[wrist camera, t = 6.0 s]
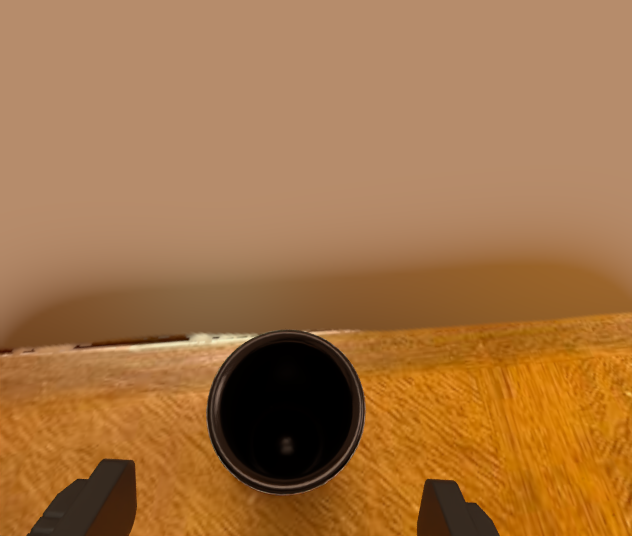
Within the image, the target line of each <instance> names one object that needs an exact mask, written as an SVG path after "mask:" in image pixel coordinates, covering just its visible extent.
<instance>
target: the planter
mask: <svg viewBox="0 0 632 536" xmlns="http://www.w3.org/2000/svg"><path fill="white" fill-rule="evenodd" d="M365 413H366V410H365V397H364V392H363V388H362V385H361V382H360V379H359V377H358V375H357V373H356V371H355V369H354V367H353V365H352V364H351V363H350V361H349V360H348V359H347V357H346V356H345V355H344V354H343V353H342V352H341V351H340V350H339V349H338V348H337V347H335V346H334V345H333V344H331V343H330V342H328V341H327V340H325V339H323V338H321V337H319V336H317V335H314V334H311V333H308V332H304V331H298V330H278V331H272V332H268V333H264V334H261V335H259V336H256V337H254V338H252V339H250V340H249V341H247V342H245V343H244V344H242V345H241V346H240V347H238V348H237V349H236V350H235V351H234V352H233V353H232V354H231V355H230V356H229V357H228V358H227V359H226V360H225V362H224V363H223V364H222V366H221V367H220V369H219V370H218V372H217V374H216V376H215V378H214V380H213V383H212V385H211V388H210V392H209V396H208V401H207V410H206V418H207V428H208V433H209V437H210V440H211V443H212V446H213V448H214V451H215V453H216V455H217V456H218V458H219V460H220V461H221V463H222V464H223V465H224V467H225V468H226V469H227V470H228V471H229V472H230V473H231V474H232V475H233V476H234V477H235V478H237V479H238V480H239V481H240V482H242V483H243V484H245V485H247V486H249V487H250V488H252V489H255V490H257V491H260V492H263V493H267V494H272V495H281V496H288V495H297V494H301V493H305V492H308V491H311V490H314V489H316V488H318V487H320V486H322V485H324V484H325V483H327V482H328V481H330V480H331V479H332V478H334V477H335V476H336V475H337V474H338V473H339V472H340V471H341V470H342V469H343V468H344V467H345V466H346V465H347V463H348V462H349V461H350V459H351V458H352V456H353V455H354V453H355V451H356V449H357V447H358V445H359V442H360V440H361V437H362V433H363V429H364V424H365Z"/></svg>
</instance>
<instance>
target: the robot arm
mask: <svg viewBox="0 0 632 536" xmlns="http://www.w3.org/2000/svg"><path fill="white" fill-rule="evenodd" d="M136 508H137V499H136V476H135V463H134V461H133V460H121V459H103V460H102V461H101V462H100V463H99V464H98V466H97V467H96V469H95V470H94V472H93V473H92V474H91V476H90V477H89V479H77V480H75V481H74V482H73V483H72V484H70V485H69V486H68V487H66V488H65V489H64V490H62V491H61V492H60V493H59V494H57V496H56V497H55V498H54V500H53V501H52V502H51V504H50V505H49V506H48V508H47V509H46V510H45V512H44V513H43V516H42V517H40V518H39V520H38V521H37V522H36V524H35V525H34V526H33V528H32V529H31V532H30V533H28V534H27V536H129V534H130V532H131V529H132V526H133V523H134V520H135V515H136ZM417 536H500V535H499V533H498V531H497V529H496V527H495V525H494V523H493V521H492V520H491V519H490V518H489V516H488V515H487V514H486V513H485V512H484V511H483V510H482V509H481V508H480V507H479V506H478V505H477V504H476V503H468V502H465V500H464V498H463V495H462V493H461V491H460V489H459V486H458V485H457V483H456V482H455V481H454V480H439V479H427V480H426V481H425V484H424V490H423V495H422V500H421V506H420V511H419V516H418V522H417Z"/></svg>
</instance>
